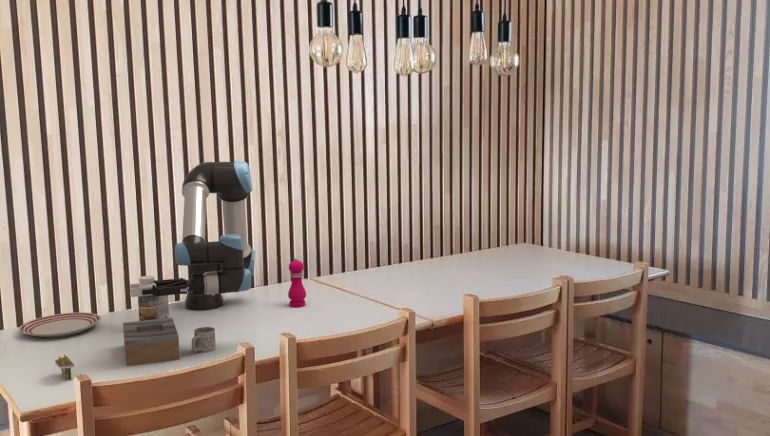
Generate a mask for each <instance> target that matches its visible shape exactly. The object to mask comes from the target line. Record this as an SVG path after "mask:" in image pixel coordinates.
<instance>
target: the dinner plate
mask: <svg viewBox="0 0 770 436" xmlns="http://www.w3.org/2000/svg"><path fill="white" fill-rule="evenodd" d="M101 319H102V317H101V315H100V314H96V313H94V312H85V311H84V312H83V311H79V312H66V313H56V314H51V315H46V316H42V317H39V318H35V319H32V320H29V321H27V322H25V323H23V324H22V325H20V326H19V329H18V331H19V333H20V334H24V335H29V336H33V337H39V338H51V339H52V338H62V337H69V336H73V335H77V334H80V333H82V332H85V331H86V330H88V329H90V328H92V327H94V326H96V325H97V324H98V323H99V322H100V321H101Z"/></svg>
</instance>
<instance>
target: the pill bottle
mask: <svg viewBox="0 0 770 436" xmlns="http://www.w3.org/2000/svg"><path fill="white" fill-rule="evenodd" d="M154 280H155V276H154V275H143V276H140V277H139V278H138V282H139V283H140V284H139V286H138V288H140V287H151V286H152V285H155V287H156V284H155V283H154ZM152 289H153V288H152ZM157 305H158V303H157V297H156V296H154V295H149V296H139V306H138V308H139V307H140V308H142V309H151V308H155V307H157Z"/></svg>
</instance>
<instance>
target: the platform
mask: <svg viewBox="0 0 770 436" xmlns="http://www.w3.org/2000/svg"><path fill="white" fill-rule="evenodd" d="M54 364H55V365H57V367H58V368H59V369H61V373H62V378H63V380H64V381H65V380H70V381H72V369H71V368H75V364H74V362H72V360H71V359H70V358H69V357H68V356H67V355H66V354H63V356H62V357H61V356H60V355H58V359H55V360H54Z"/></svg>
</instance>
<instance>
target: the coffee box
mask: <svg viewBox="0 0 770 436" xmlns="http://www.w3.org/2000/svg"><path fill="white" fill-rule="evenodd" d="M137 301H138V302H137V303H138V319H139V320H138V321H144V320H153V319H163V318H170V316H169V315H170V313H169V295H166V296H158V297H157V303H158V305H157V307H155V308H151V309H142V308H140V307H139V296H138V297H137Z"/></svg>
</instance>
